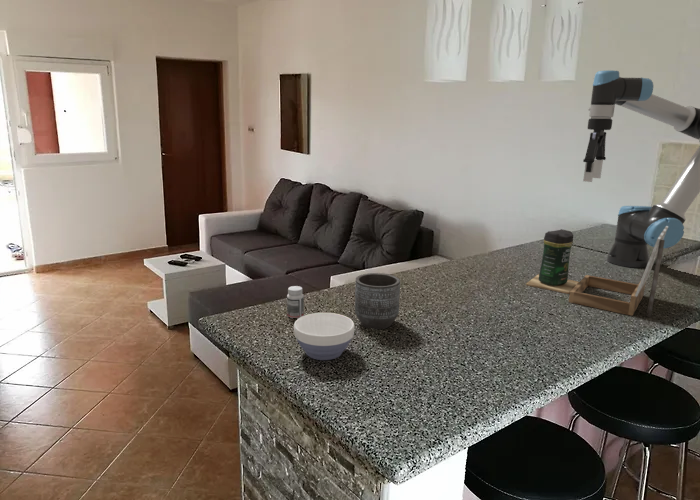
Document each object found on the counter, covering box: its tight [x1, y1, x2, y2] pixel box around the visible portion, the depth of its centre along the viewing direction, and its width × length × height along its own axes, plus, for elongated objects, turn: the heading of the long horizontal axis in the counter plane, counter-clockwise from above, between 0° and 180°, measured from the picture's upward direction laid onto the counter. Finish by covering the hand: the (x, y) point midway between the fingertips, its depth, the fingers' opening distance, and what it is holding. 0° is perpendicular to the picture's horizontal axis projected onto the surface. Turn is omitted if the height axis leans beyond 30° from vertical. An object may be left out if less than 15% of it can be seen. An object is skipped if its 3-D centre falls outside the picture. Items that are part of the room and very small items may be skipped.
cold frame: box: [568, 226, 668, 317], centre depth 161 cm, size 22×22×24 cm
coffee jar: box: [538, 228, 574, 286], centre depth 176 cm, size 10×8×19 cm
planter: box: [354, 272, 401, 330], centre depth 141 cm, size 12×12×13 cm
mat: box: [525, 273, 580, 295], centre depth 179 cm, size 14×14×1 cm
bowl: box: [293, 312, 356, 361], centre depth 124 cm, size 14×14×8 cm
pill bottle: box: [286, 285, 305, 319], centre depth 146 cm, size 5×5×8 cm
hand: (592, 179), depth 183 cm, fingers open, 13 cm apart
